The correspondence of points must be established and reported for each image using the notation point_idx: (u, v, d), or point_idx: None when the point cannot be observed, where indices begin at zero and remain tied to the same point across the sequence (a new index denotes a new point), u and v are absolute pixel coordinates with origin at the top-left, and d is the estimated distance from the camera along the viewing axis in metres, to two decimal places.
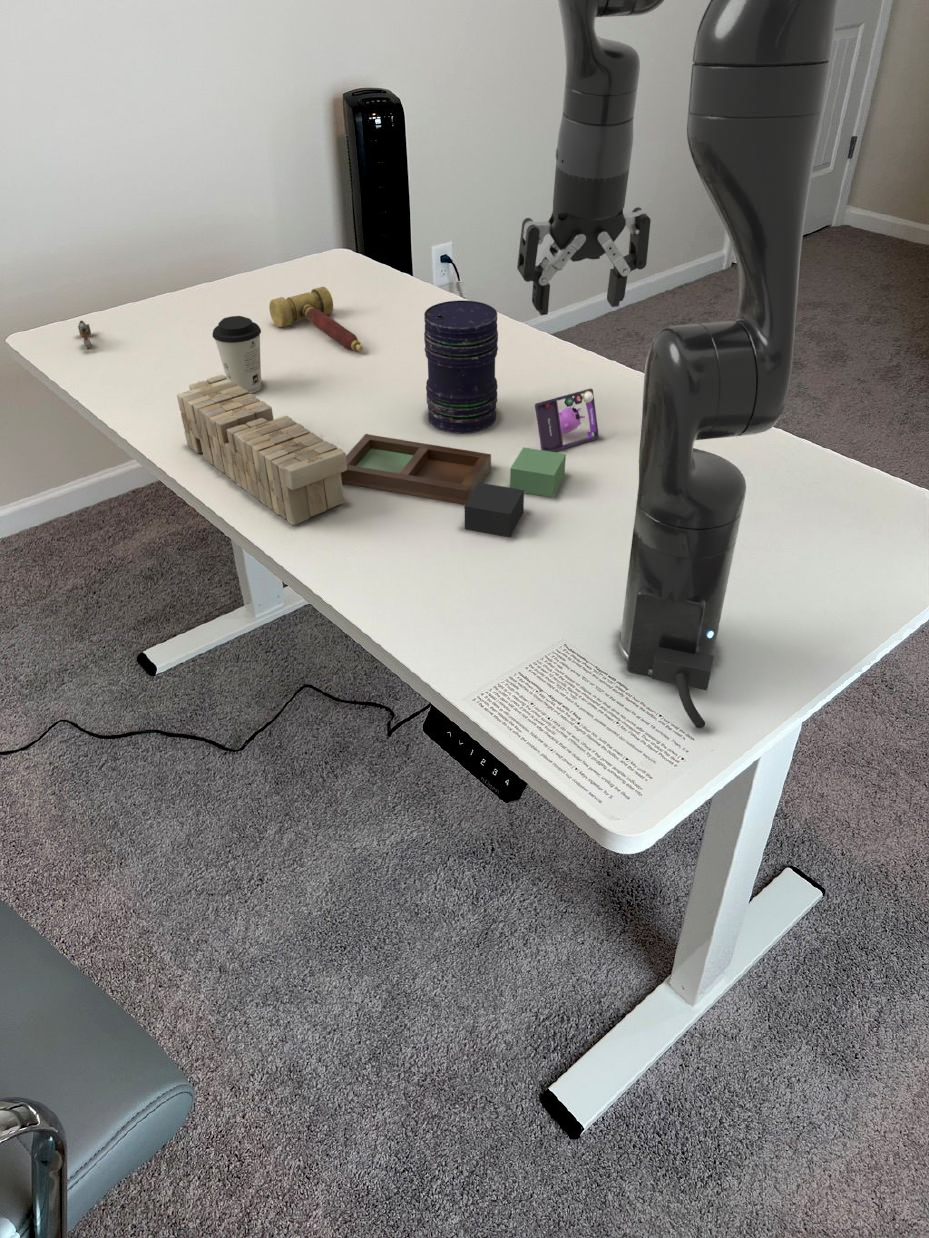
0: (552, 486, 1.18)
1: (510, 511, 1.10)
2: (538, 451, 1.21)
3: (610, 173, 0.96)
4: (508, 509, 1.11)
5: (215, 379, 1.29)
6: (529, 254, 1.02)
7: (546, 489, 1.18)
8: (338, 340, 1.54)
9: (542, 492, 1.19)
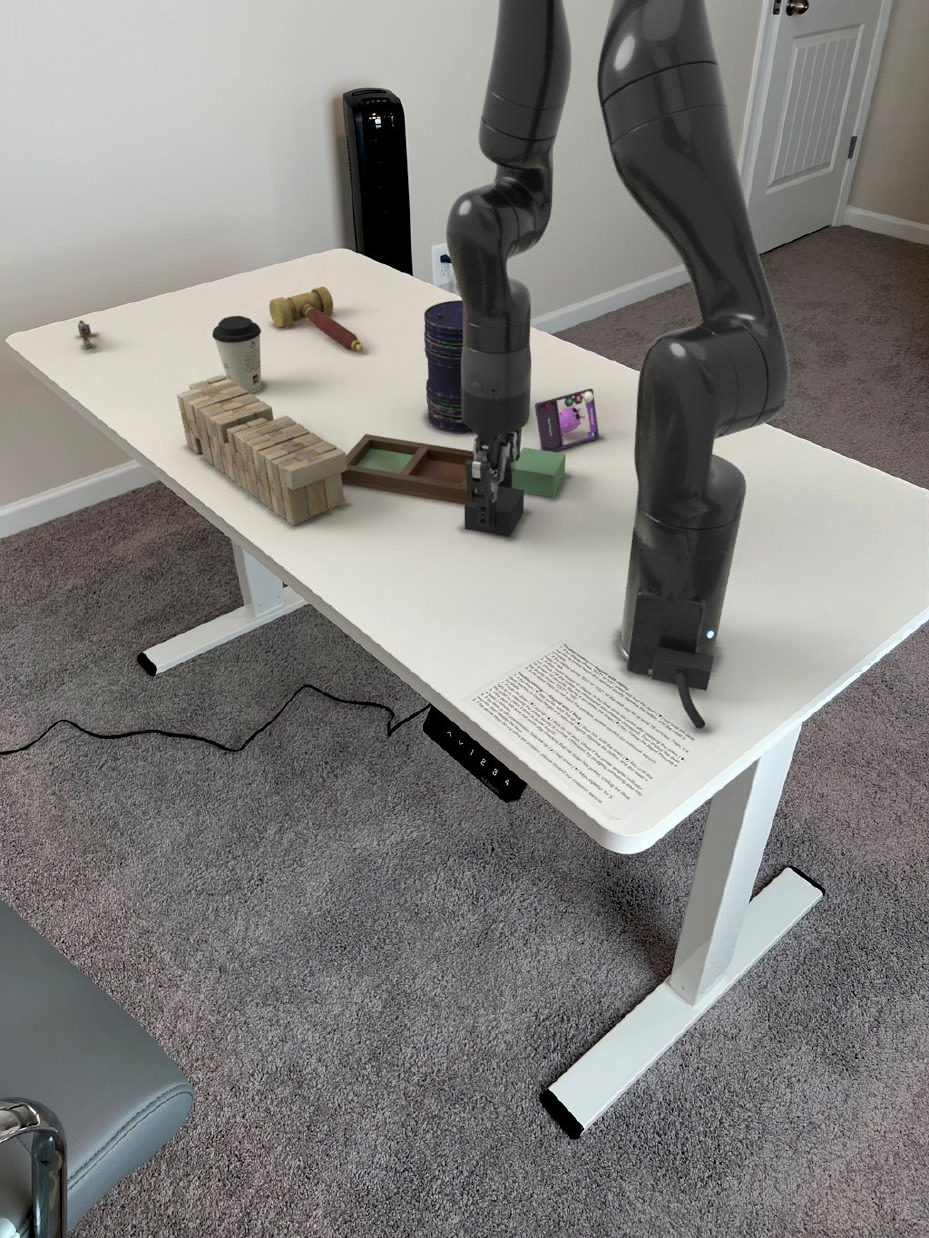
0: (552, 486, 1.18)
1: (510, 511, 1.10)
2: (538, 451, 1.21)
3: (530, 382, 1.03)
4: (508, 509, 1.11)
5: (215, 379, 1.29)
6: (488, 485, 1.05)
7: (546, 489, 1.18)
8: (338, 340, 1.54)
9: (542, 492, 1.19)
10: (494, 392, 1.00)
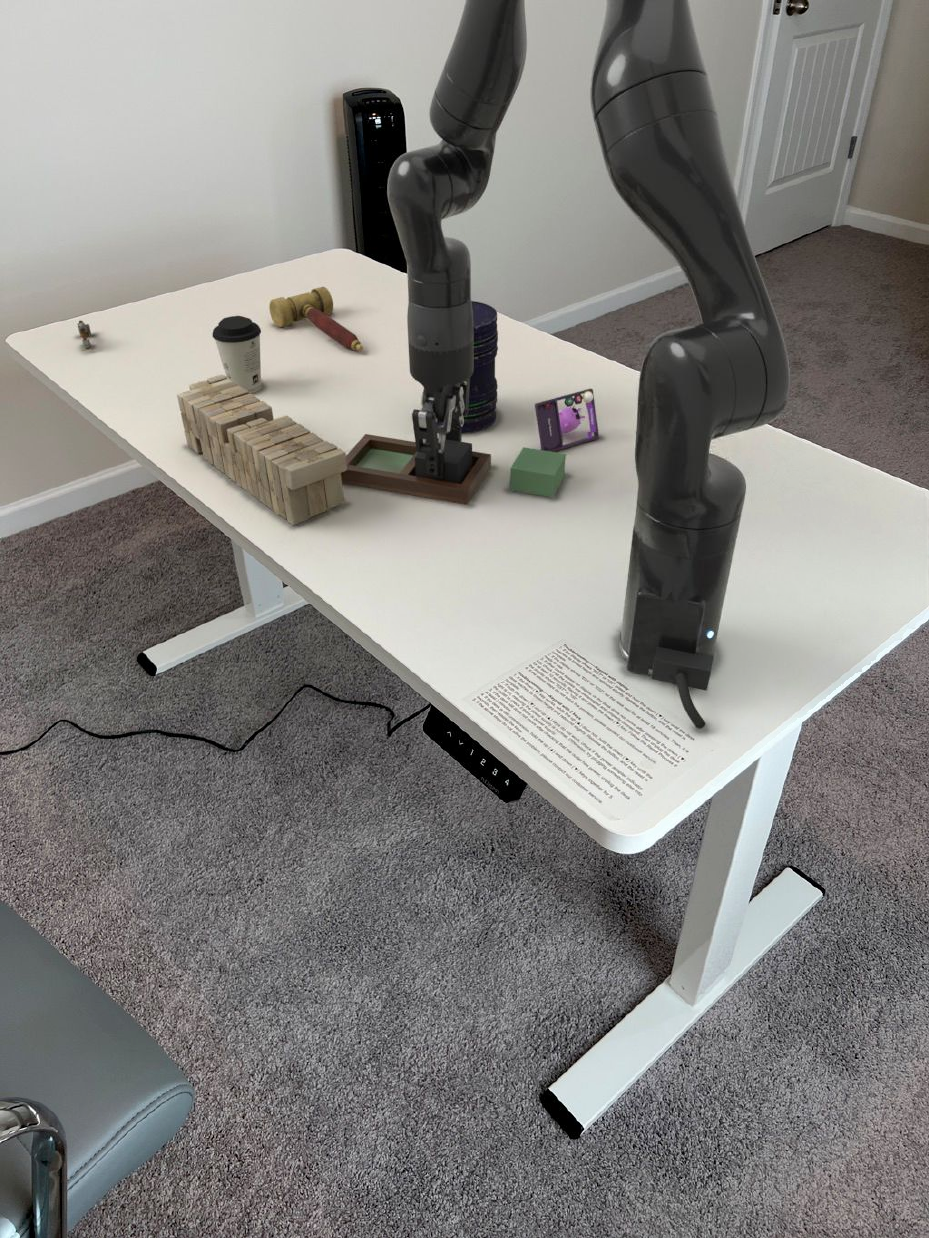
0: (552, 486, 1.18)
1: (457, 462, 1.17)
2: (538, 451, 1.21)
3: (472, 337, 1.10)
4: (456, 460, 1.17)
5: (215, 379, 1.29)
6: (434, 434, 1.11)
7: (546, 489, 1.18)
8: (338, 340, 1.54)
9: (542, 492, 1.19)
10: (437, 345, 1.07)
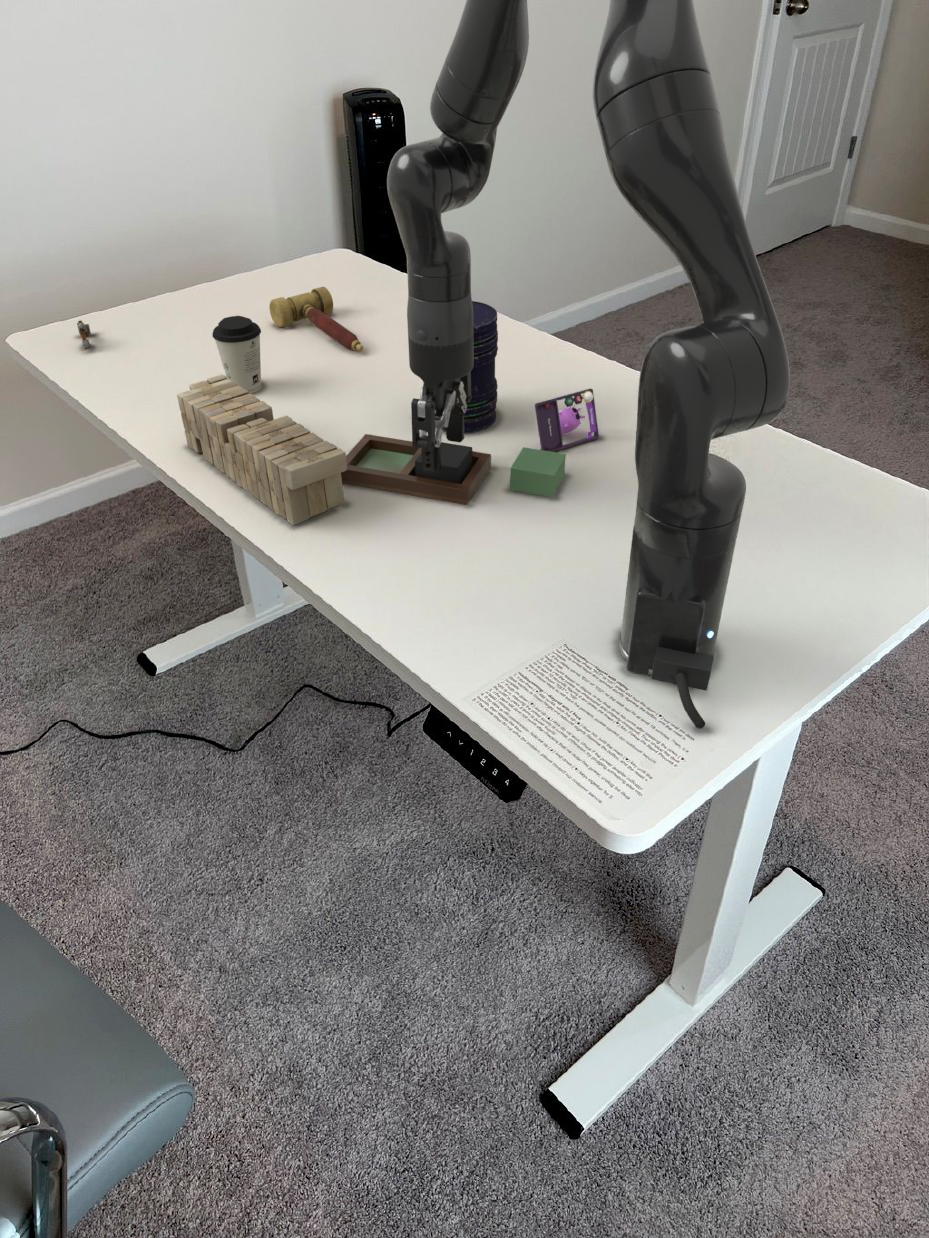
0: (552, 486, 1.18)
1: (457, 465, 1.18)
2: (538, 451, 1.21)
3: (472, 331, 1.09)
4: (456, 464, 1.18)
5: (215, 379, 1.29)
6: (432, 426, 1.10)
7: (546, 489, 1.18)
8: (338, 340, 1.54)
9: (542, 492, 1.19)
10: (437, 340, 1.07)
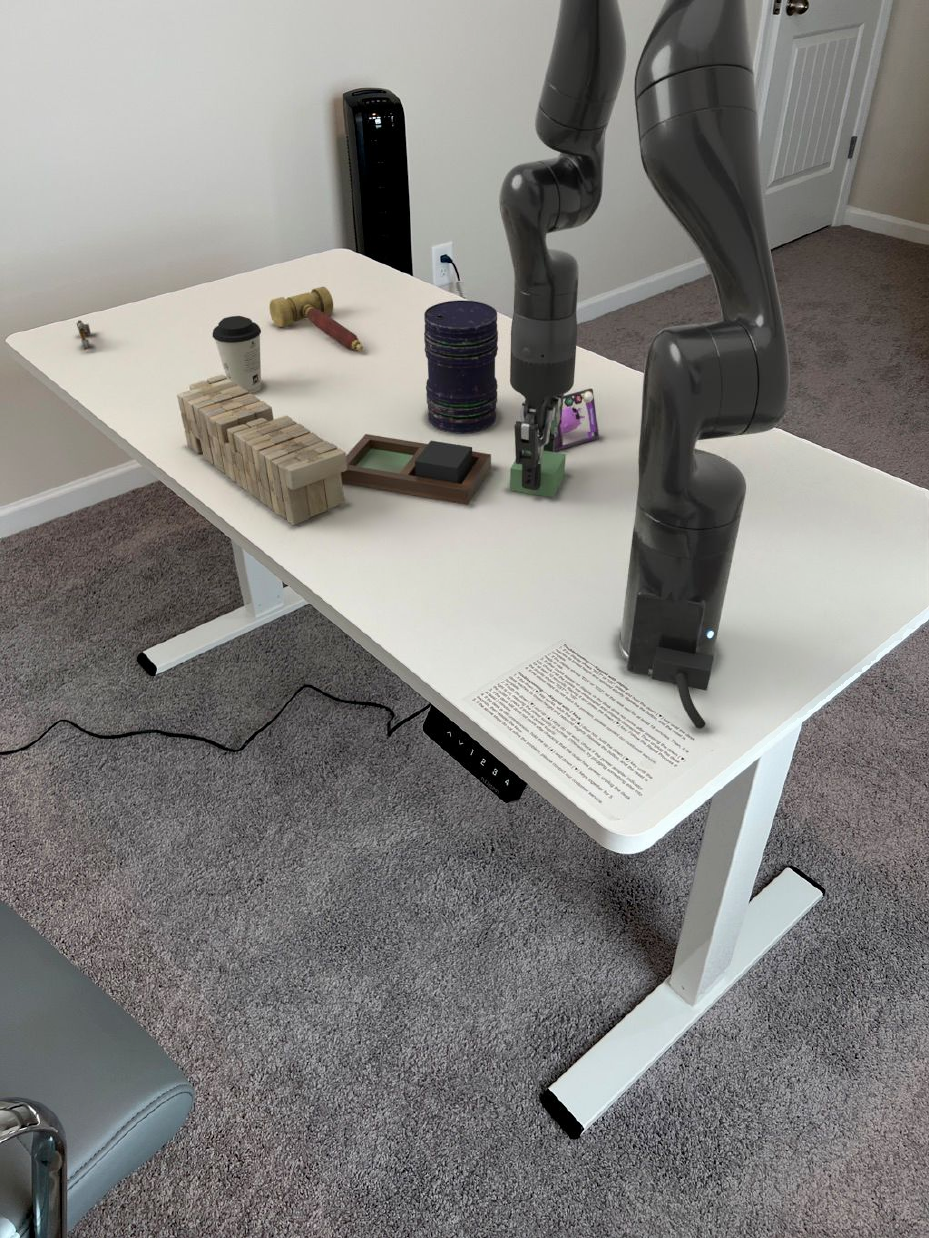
0: (552, 486, 1.18)
1: (457, 465, 1.18)
2: None
3: (575, 348, 1.10)
4: (456, 464, 1.18)
5: (215, 379, 1.29)
6: (535, 446, 1.11)
7: (546, 489, 1.18)
8: (338, 340, 1.54)
9: (542, 492, 1.19)
10: (543, 357, 1.07)
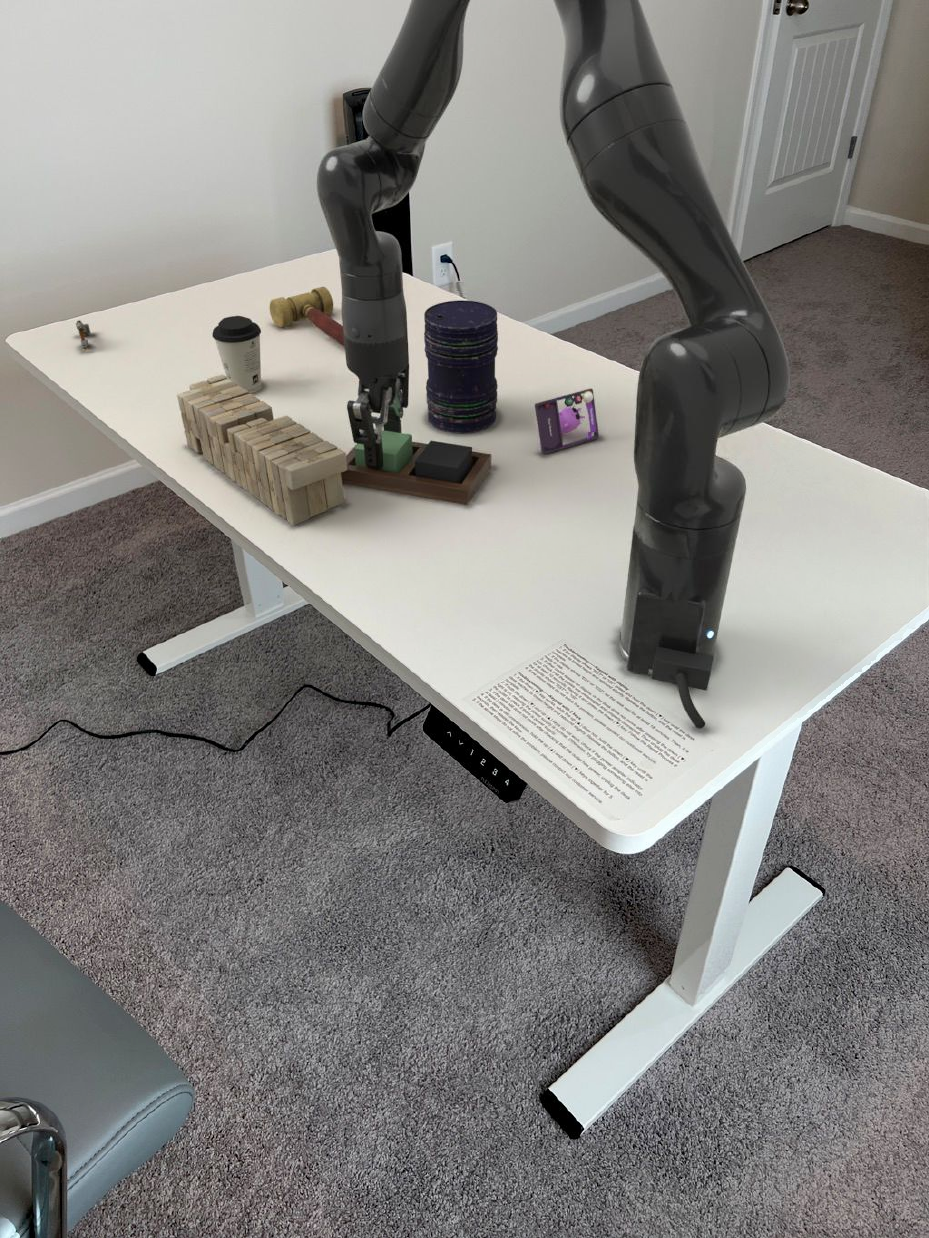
0: (394, 465, 1.20)
1: (457, 465, 1.18)
2: (385, 432, 1.24)
3: (406, 329, 1.12)
4: (456, 464, 1.18)
5: (215, 379, 1.29)
6: (369, 425, 1.14)
7: (389, 469, 1.21)
8: (339, 340, 1.54)
9: None
10: (370, 337, 1.09)
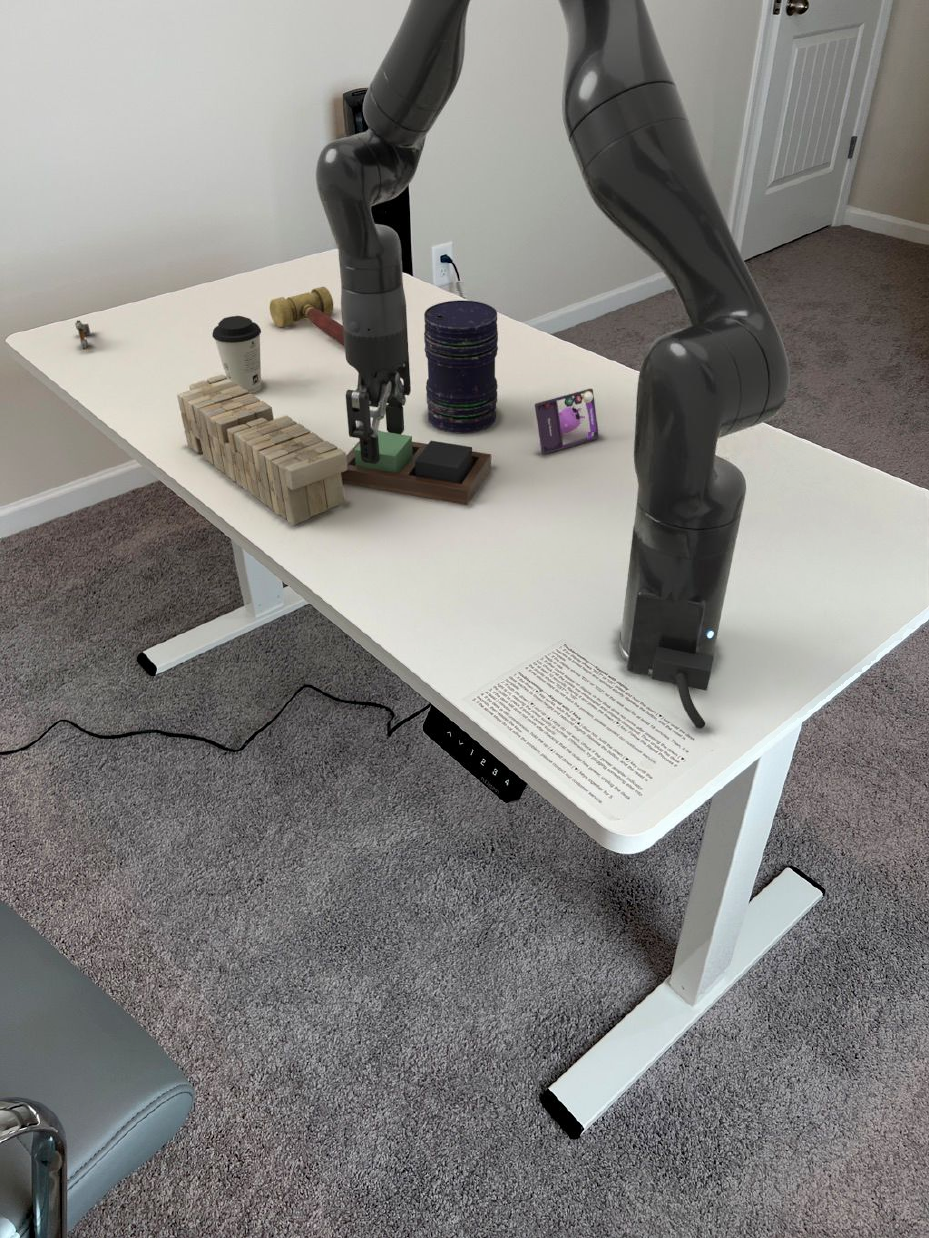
0: (394, 467, 1.20)
1: (457, 465, 1.18)
2: (385, 433, 1.24)
3: (405, 323, 1.11)
4: (456, 464, 1.18)
5: (215, 379, 1.29)
6: (367, 416, 1.12)
7: (389, 470, 1.21)
8: (339, 340, 1.54)
9: None
10: (369, 331, 1.09)
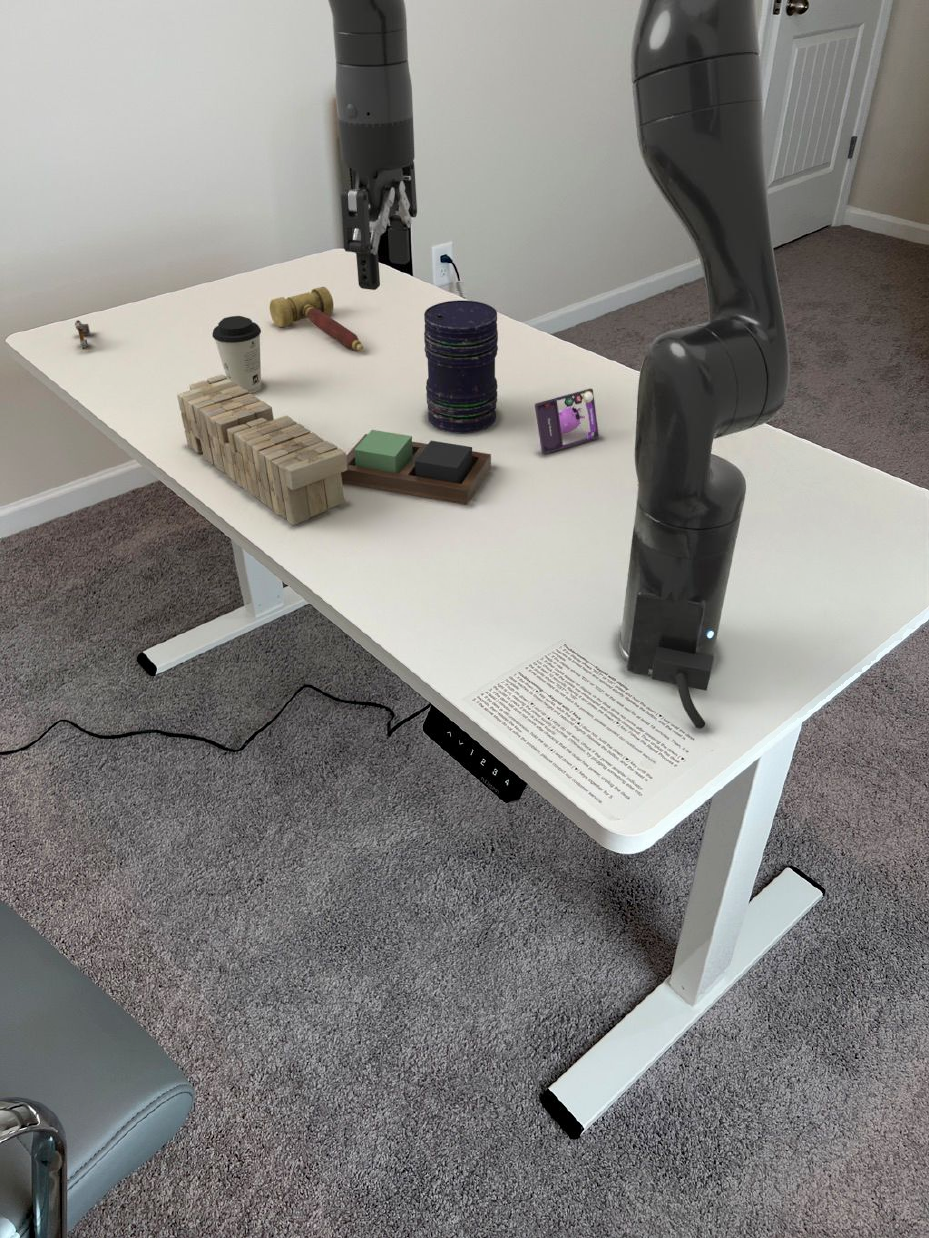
0: (394, 467, 1.20)
1: (457, 465, 1.18)
2: (385, 433, 1.24)
3: (411, 112, 0.95)
4: (456, 464, 1.18)
5: (215, 379, 1.29)
6: (365, 222, 0.96)
7: (389, 470, 1.21)
8: (339, 340, 1.54)
9: None
10: (369, 116, 0.93)
